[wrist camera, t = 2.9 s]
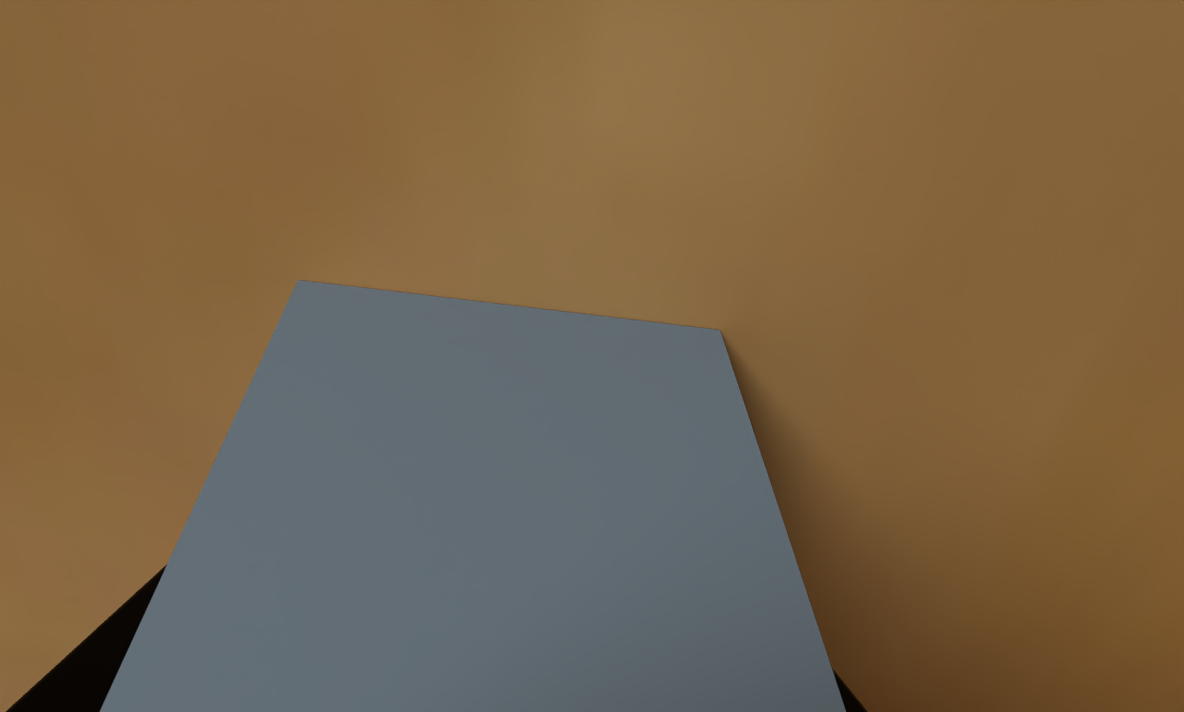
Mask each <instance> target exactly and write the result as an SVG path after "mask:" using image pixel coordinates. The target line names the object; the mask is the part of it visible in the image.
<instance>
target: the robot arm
mask: <svg viewBox="0 0 1184 712" xmlns="http://www.w3.org/2000/svg"><path fill="white" fill-rule="evenodd" d="M166 566H167V565H166ZM166 566H165V567H164V568H162V569H161V570H160V571H159V572H158V573H157V574H156V575H155V576H154V577H153V578H152V579H150V580H149V581H148V582H147V583H146V584H145V585H144V586H143V587H142V588H141V589H139V590H138V591H137V592H136V593H135V594H134V595H133V596H132V597H131V598H130V599H129V600H127V601H126V602H125V603H124V604H123V605H122V606H121V607H120V608H119V609H118V610H117V611H115V612H114V613H113V614H112V615H111V616H110V617H109V618H108V619H107V620H106V621H104V622H103V623H102V624H101V625H100V626H99V627H98V628H97V629H96V630H95V631H94V632H92V633H91V634H90V635H89V636H88V637H87V638H86V639H85V640H84V641H83V642H81V643H80V644H79V645H78V646H77V647H76V648H75V649H74V650H73V651H72V652H71V653H69V654H68V655H67V656H66V657H65V658H64V659H63V660H62V661H61V662H60V663H58V664H57V665H56V666H55V667H54V668H53V669H52V670H51V671H50V672H49V673H48V674H46V675H45V676H44V677H43V678H42V679H41V680H40V681H39V682H38V683H37V684H35V685H34V686H33V687H32V688H31V689H30V690H29V691H28V692H27V693H26V694H25V695H23V696H22V697H21V698H20V699H19V700H18V701H17V702H16V703H15V704H14V705H12V706H11V707H10V708H9V709H8V710H7V711H6V712H100V710H101V708H102V706H103V703H104V701H105V699H106V697H107V695H108V692H109V690H110V688H111V686H112V684H113V682H114V679H115V677H116V675H117V673H118V671H119V669H120V666H121V664H122V662H123V660H124V658H125V655H126V653H127V651H128V649H129V647H130V645H131V642H132V640H133V638H134V636H135V634H136V632H137V629H138V627H139V625H140V623H141V621H142V618H143V616H144V614H145V612H146V610H147V608H148V605H149V603H150V601H151V599H152V597H153V594H154V592H155V590H156V588H157V586H158V584H159V581H160V579H161V577H162V575H163V573H164V571H165V568H166ZM831 668H832V667H831ZM832 671H833V674H834V677H835V680H836V683H837V686H838V689H839V692H840V695H841V698H842V701H843V704H844V707H845V710H846V712H867V711H866V709H865V708H864V707H863V706H862V704H861V703H860V702H859V701H858V699H857V698H856V697H855V696H854V694H853V693H852V692H851V691H850V689H849V688H848V687H847V686H846V685H845V683H844V682H843V681H842V680H841V678H840V677H839V676H838V675H837V673H836V672H835V671H834V670H833V668H832Z"/></svg>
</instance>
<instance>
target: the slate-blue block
mask: <svg viewBox="0 0 1184 712" xmlns="http://www.w3.org/2000/svg"><path fill="white" fill-rule="evenodd" d="M100 712H846V710H845V707H844V704H843V701H842V698H841V695H840V692H839V689H838V686H837V683H836V680H835V677H834V674H833V671H832V668H831V665H830V662H829V658H828V655H827V652H826V649H825V646H824V643H823V640H822V637H821V634H820V631H819V628H818V625H817V622H816V619H815V616H814V613H813V610H812V607H811V604H810V601H809V598H808V595H807V592H806V589H805V586H804V583H803V580H802V577H801V574H800V571H799V568H798V565H797V562H796V559H795V556H794V553H793V550H792V547H791V543H790V540H789V537H788V534H787V531H786V528H785V525H784V522H783V519H782V516H781V513H780V510H779V507H778V504H777V501H776V498H775V495H774V492H773V489H772V486H771V483H770V480H769V477H768V474H767V471H766V468H765V465H764V462H763V459H762V456H761V453H760V450H759V447H758V444H757V441H756V438H755V435H754V432H753V428H752V425H751V422H750V419H749V416H748V413H747V410H746V407H745V404H744V401H743V398H742V395H741V392H740V389H739V386H738V383H737V380H736V377H735V374H734V371H733V368H732V365H731V362H730V359H729V356H728V353H727V350H726V347H725V344H724V341H723V338H722V335H721V332H720V330H714V329H706V328H698V327H689V326H681V325H672V324H664V323H655V322H647V321H638V320H630V319H622V318H613V317H605V316H596V315H588V314H579V313H571V312H563V311H554V310H546V309H537V308H529V307H520V306H512V305H504V304H495V303H487V302H478V301H470V300H461V299H453V298H445V297H436V296H428V295H419V294H411V293H402V292H394V291H386V290H377V289H369V288H360V287H352V286H343V285H335V284H327V283H318V282H310V281H301V280H298V281H297V283H296V285H295V288H294V290H293V292H292V294H291V296H290V298H289V301H288V303H287V305H286V307H285V309H284V311H283V314H282V316H281V318H280V320H279V322H278V325H277V327H276V329H275V331H274V333H273V335H272V338H271V340H270V342H269V344H268V346H267V348H266V351H265V353H264V355H263V357H262V359H261V362H260V364H259V366H258V368H257V370H256V372H255V375H254V377H253V379H252V381H251V383H250V385H249V388H248V390H247V392H246V394H245V396H244V399H243V401H242V403H241V405H240V407H239V409H238V412H237V414H236V416H235V418H234V420H233V422H232V425H231V427H230V429H229V431H228V433H227V436H226V438H225V440H224V442H223V444H222V446H221V449H220V451H219V453H218V455H217V457H216V460H215V462H214V464H213V466H212V468H211V470H210V473H209V475H208V477H207V479H206V481H205V483H204V486H203V488H202V490H201V492H200V494H199V497H198V499H197V501H196V503H195V505H194V507H193V510H192V512H191V514H190V516H189V518H188V520H187V523H186V525H185V527H184V529H183V531H182V534H181V536H180V538H179V540H178V542H177V544H176V547H175V549H174V551H173V553H172V555H171V557H170V560H169V562H168V564H167V566H166V568H165V571H164V573H163V575H162V577H161V579H160V581H159V584H158V586H157V588H156V590H155V592H154V594H153V597H152V599H151V601H150V603H149V605H148V608H147V610H146V612H145V614H144V616H143V618H142V621H141V623H140V625H139V627H138V629H137V632H136V634H135V636H134V638H133V640H132V642H131V645H130V647H129V649H128V651H127V653H126V655H125V658H124V660H123V662H122V664H121V666H120V669H119V671H118V673H117V675H116V677H115V679H114V682H113V684H112V686H111V688H110V690H109V692H108V695H107V697H106V699H105V701H104V703H103V706H102V708H101V710H100Z"/></svg>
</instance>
